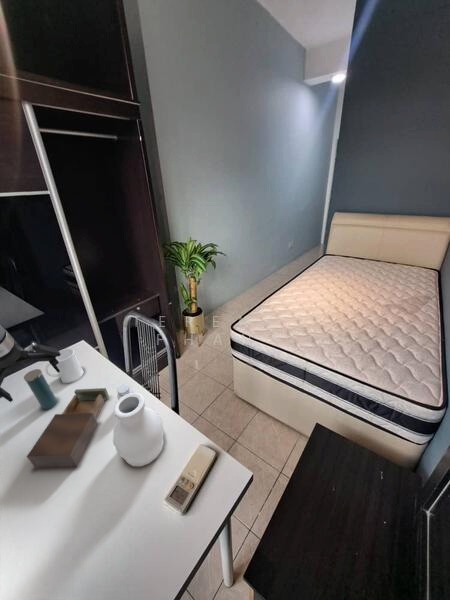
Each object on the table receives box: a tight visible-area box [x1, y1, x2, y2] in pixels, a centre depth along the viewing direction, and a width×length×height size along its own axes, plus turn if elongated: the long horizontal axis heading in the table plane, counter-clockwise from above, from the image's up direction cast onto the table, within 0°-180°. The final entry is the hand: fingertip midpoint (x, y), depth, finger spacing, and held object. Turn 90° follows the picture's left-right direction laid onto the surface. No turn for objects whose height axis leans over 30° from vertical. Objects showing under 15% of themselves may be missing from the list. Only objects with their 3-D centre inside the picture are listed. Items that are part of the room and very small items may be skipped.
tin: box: [23, 368, 58, 411], centre depth 90 cm, size 5×5×16 cm
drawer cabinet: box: [26, 413, 99, 469], centre depth 77 cm, size 14×13×7 cm
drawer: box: [61, 387, 110, 420], centre depth 88 cm, size 14×11×5 cm
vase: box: [112, 392, 165, 467], centre depth 73 cm, size 14×14×20 cm
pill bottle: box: [116, 383, 134, 401], centre depth 89 cm, size 5×5×9 cm
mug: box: [45, 348, 84, 384], centre depth 103 cm, size 12×8×12 cm
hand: (34, 383), depth 78 cm, fingers open, 13 cm apart
